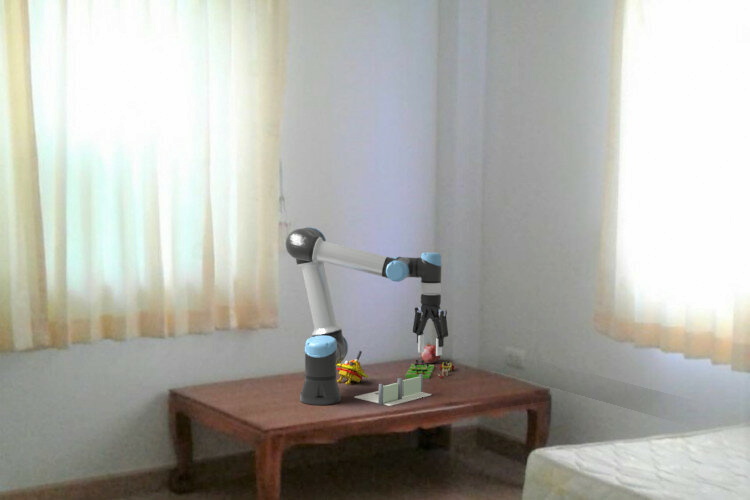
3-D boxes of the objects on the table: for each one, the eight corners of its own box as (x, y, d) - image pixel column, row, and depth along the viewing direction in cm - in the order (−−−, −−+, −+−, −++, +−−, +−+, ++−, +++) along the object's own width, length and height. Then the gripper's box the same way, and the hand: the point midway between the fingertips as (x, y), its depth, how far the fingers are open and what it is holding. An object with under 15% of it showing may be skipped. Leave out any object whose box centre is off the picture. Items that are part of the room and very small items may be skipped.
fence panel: (404, 396, 343) (404, 379, 342) (400, 396, 344) (401, 378, 343) (423, 391, 351) (423, 374, 351) (420, 391, 352) (420, 373, 352)
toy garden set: (411, 368, 404) (411, 357, 403) (454, 369, 401) (454, 359, 400) (405, 379, 381) (405, 368, 380) (451, 380, 378) (451, 370, 378)
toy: (327, 377, 370) (341, 344, 374) (343, 386, 376) (357, 353, 380) (348, 383, 360) (363, 348, 364) (364, 392, 366) (378, 358, 370)
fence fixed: (381, 405, 333) (381, 383, 332) (377, 404, 334) (377, 382, 334) (403, 399, 342) (403, 378, 342) (399, 398, 343) (399, 377, 343)
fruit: (442, 361, 416) (442, 339, 415) (438, 365, 407) (439, 343, 406) (422, 360, 418) (422, 338, 418) (418, 364, 409) (418, 342, 408)
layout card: (389, 406, 332) (389, 404, 332) (354, 397, 344) (354, 396, 344) (431, 395, 350) (431, 394, 350) (396, 387, 362) (396, 386, 362)
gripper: (459, 295, 337) (457, 356, 338) (415, 290, 351) (415, 348, 352) (446, 297, 331) (445, 358, 333) (403, 292, 345) (402, 351, 347)
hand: (429, 353), depth 343 cm, fingers open, 8 cm apart
